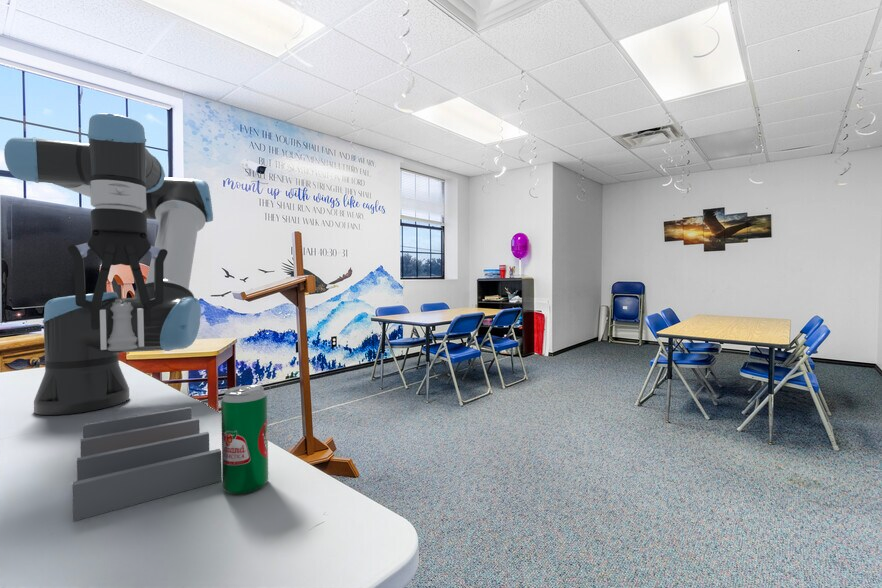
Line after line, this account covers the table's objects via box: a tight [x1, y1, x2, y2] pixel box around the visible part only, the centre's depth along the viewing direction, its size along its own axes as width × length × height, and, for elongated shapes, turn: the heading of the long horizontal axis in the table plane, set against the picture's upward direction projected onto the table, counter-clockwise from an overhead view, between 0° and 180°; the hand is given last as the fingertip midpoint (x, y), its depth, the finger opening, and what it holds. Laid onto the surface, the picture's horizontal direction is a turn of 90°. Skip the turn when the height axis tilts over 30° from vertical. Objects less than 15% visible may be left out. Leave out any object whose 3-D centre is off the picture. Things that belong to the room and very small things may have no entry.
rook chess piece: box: [107, 302, 139, 351], centre depth 70 cm, size 4×4×8 cm
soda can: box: [220, 384, 269, 496], centre depth 50 cm, size 5×5×12 cm
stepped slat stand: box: [71, 406, 223, 522], centre depth 57 cm, size 25×14×4 cm, turn 39°
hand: (122, 346), depth 71 cm, fingers closed on rook chess piece, 4 cm apart
